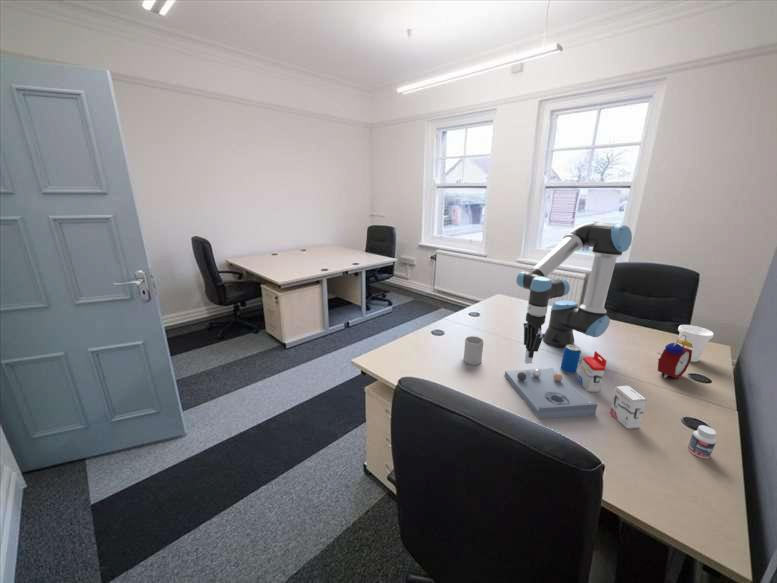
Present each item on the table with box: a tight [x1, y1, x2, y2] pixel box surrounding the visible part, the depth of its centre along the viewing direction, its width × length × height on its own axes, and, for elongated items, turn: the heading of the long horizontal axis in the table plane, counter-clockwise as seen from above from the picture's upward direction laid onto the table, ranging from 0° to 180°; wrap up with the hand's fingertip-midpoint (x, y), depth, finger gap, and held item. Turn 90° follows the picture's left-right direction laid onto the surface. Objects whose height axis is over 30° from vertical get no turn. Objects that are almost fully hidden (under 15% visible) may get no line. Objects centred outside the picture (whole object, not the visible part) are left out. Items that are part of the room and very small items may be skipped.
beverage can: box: [560, 344, 582, 375], centre depth 145 cm, size 6×6×12 cm
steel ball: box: [532, 368, 541, 378], centre depth 137 cm, size 4×4×4 cm
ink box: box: [609, 385, 647, 429], centre depth 114 cm, size 9×5×12 cm, turn 5°
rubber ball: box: [517, 372, 526, 381], centre depth 135 cm, size 4×4×4 cm
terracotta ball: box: [553, 372, 564, 381], centre depth 135 cm, size 4×4×4 cm
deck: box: [504, 367, 598, 419], centre depth 130 cm, size 28×22×4 cm
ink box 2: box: [577, 351, 607, 393], centre depth 134 cm, size 8×5×15 cm, turn 178°
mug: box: [463, 335, 484, 366], centre depth 156 cm, size 12×8×11 cm
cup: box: [677, 324, 715, 363], centre depth 156 cm, size 12×12×15 cm
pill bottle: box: [687, 424, 717, 459], centre depth 101 cm, size 5×5×9 cm
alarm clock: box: [657, 335, 693, 379], centre depth 142 cm, size 15×9×20 cm, turn 117°
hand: (528, 362), depth 143 cm, fingers closed
